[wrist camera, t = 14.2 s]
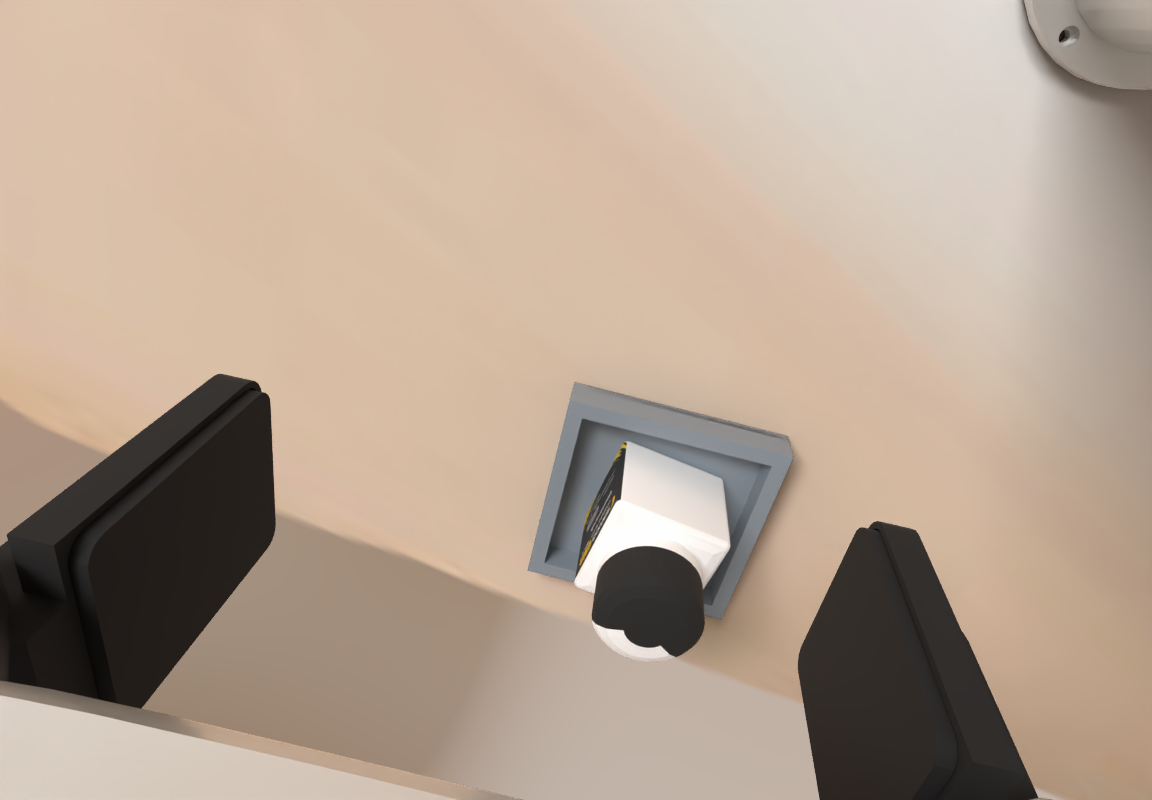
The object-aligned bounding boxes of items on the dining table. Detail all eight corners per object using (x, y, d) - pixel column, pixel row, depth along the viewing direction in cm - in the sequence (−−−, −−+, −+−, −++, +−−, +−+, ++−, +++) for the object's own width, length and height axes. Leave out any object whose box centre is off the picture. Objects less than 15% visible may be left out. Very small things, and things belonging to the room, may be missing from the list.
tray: (787, 436, 46) (793, 457, 43) (719, 594, 52) (721, 619, 50) (574, 382, 46) (569, 400, 43) (533, 547, 52) (527, 570, 50)
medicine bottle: (624, 437, 46) (611, 559, 36) (725, 477, 47) (740, 609, 36) (584, 516, 50) (560, 650, 39) (678, 553, 50) (679, 694, 40)
